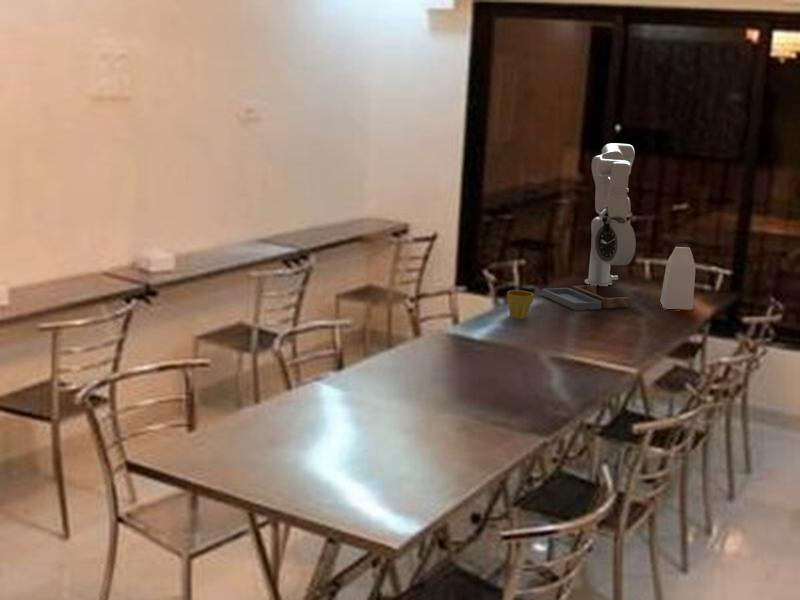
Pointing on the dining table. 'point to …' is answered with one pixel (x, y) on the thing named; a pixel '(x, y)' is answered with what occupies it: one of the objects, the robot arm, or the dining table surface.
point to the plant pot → (519, 303)
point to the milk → (679, 280)
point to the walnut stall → (606, 302)
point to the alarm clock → (614, 242)
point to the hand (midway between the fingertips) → (614, 232)
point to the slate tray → (572, 298)
